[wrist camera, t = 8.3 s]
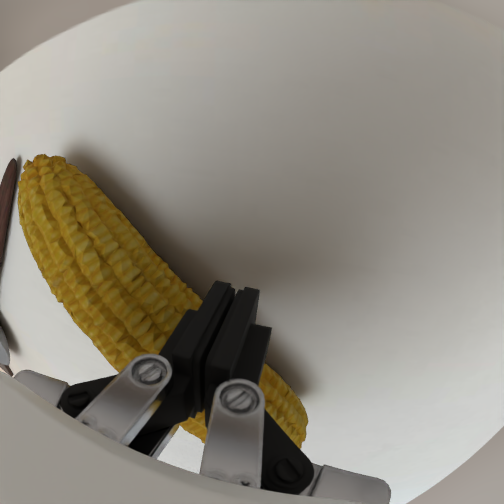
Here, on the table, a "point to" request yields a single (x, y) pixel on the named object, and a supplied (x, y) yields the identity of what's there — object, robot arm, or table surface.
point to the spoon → (3, 197)
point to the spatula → (6, 369)
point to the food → (117, 279)
